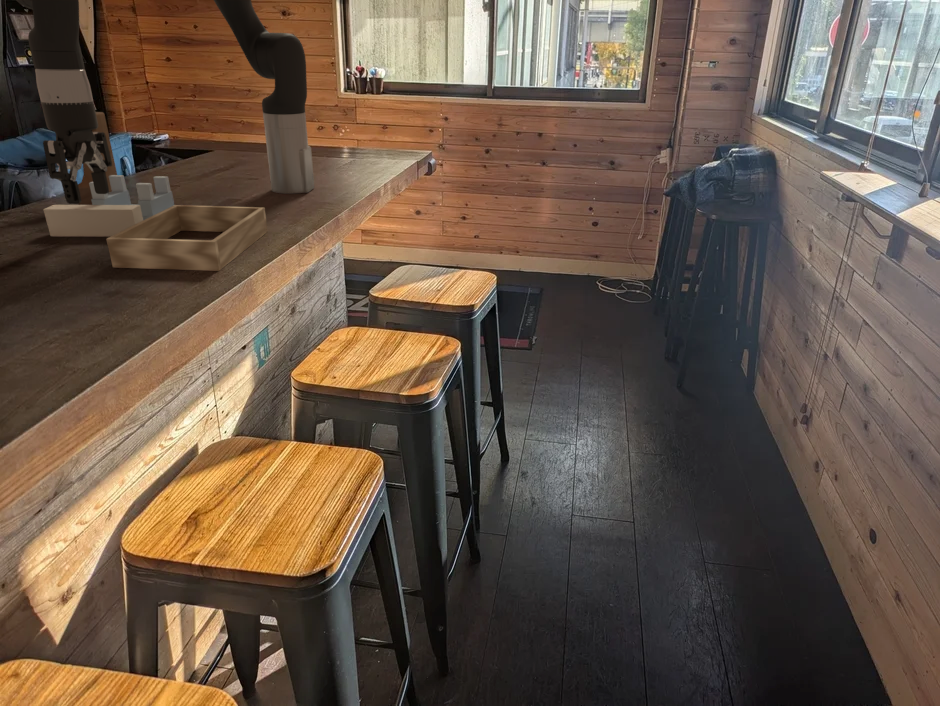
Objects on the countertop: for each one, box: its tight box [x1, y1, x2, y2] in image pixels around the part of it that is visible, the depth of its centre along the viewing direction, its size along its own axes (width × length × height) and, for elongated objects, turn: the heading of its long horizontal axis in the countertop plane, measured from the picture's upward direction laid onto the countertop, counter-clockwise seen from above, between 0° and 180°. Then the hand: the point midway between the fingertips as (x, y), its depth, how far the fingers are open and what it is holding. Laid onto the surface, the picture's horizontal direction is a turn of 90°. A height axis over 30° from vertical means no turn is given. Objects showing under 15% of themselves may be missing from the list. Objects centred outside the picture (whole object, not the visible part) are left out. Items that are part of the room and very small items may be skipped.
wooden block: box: [77, 111, 118, 205], centre depth 133 cm, size 9×4×18 cm, turn 177°
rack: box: [89, 174, 175, 220], centre depth 127 cm, size 16×10×7 cm, turn 87°
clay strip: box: [42, 204, 143, 237], centre depth 116 cm, size 15×4×5 cm, turn 93°
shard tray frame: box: [105, 204, 268, 272], centre depth 109 cm, size 17×23×4 cm
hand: (89, 198), depth 114 cm, fingers open, 8 cm apart
